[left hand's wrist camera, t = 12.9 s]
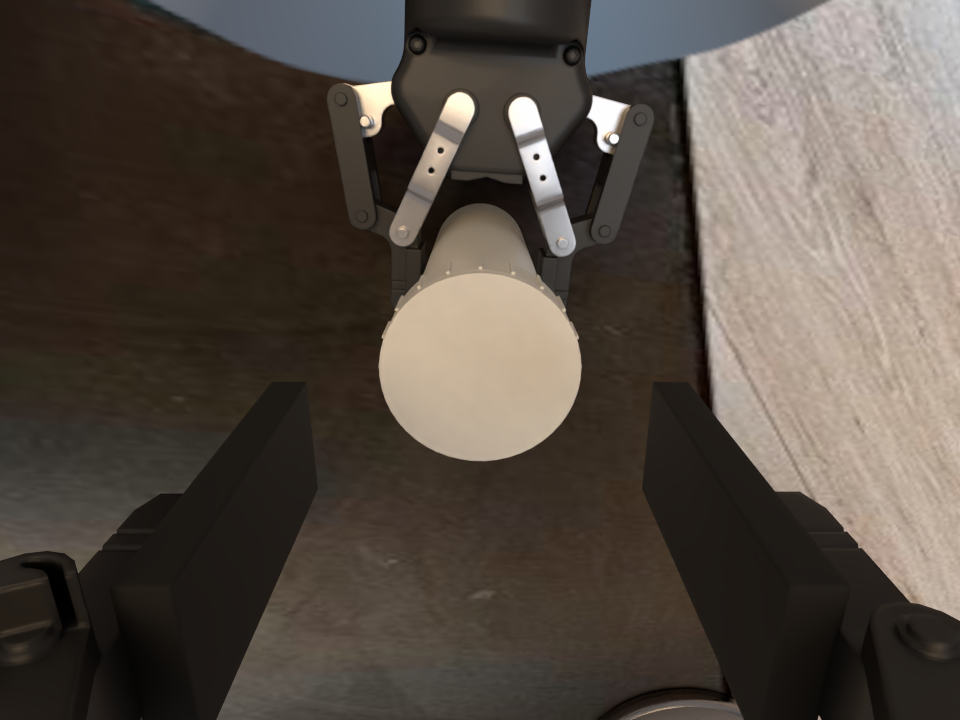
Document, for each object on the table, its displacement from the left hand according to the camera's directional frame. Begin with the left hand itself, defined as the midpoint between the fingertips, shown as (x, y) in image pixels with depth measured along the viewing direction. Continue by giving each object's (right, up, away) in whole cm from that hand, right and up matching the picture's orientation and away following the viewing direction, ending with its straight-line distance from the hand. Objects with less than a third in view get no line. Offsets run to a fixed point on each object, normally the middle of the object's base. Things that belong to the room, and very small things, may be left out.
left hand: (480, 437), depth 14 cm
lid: (0, +1, +4) cm, 4 cm away
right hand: (0, +3, +16) cm, 17 cm away
